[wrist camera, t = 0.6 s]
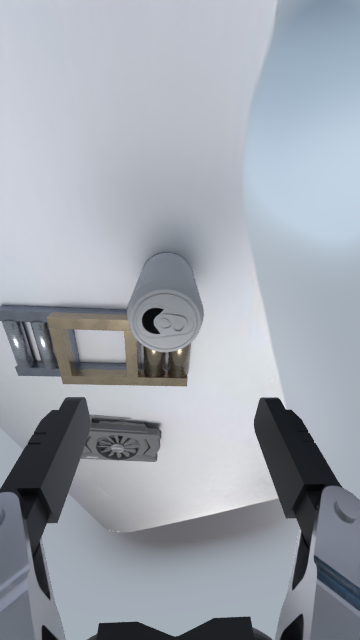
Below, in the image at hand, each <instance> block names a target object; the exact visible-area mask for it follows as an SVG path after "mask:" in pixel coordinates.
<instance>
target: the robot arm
mask: <svg viewBox="0 0 360 640" xmlns="http://www.w3.org/2000/svg"><path fill="white" fill-rule="evenodd" d="M90 426H91V420H90V415H89V411H88V407H87V402H86V399H85V398H84V397H67V398H65V400H64V401H63V403H62V405H61V407H60V409H59V410H52V411H51V412H50V413H49V414H48V415H46V416H45V417H44V418H43V419H42V420H41V422H40V423H39V425H38V427H37V428H36V430H35V432H34V435H32V437H31V438H30V440H29V442H28V445H26V447H25V448H24V450H23V452H22V454H21V456H20V457H19V459H18V460H17V462H16V464H15V465H14V467H13V469H12V470H11V472H10V474H9V475H8V477H7V479H6V480H5V482H4V484H3V485H2V487H1V489H0V640H66V639H65V634H64V630H63V626H62V622H61V618H60V615H59V612H58V610H57V607H56V604H55V600H54V596H53V591H52V586H51V582H50V577H49V572H48V567H47V562H46V557H45V553H44V548H43V543H42V538H41V537H42V534H43V532H44V529H45V526H46V524H47V523H57V522H58V520H59V517H60V514H61V511H62V508H63V506H64V502H65V500H66V497H67V494H68V492H69V489H70V486H71V483H72V480H73V477H74V475H75V472H76V469H77V466H78V463H79V461H80V458H81V455H82V452H83V449H84V447H85V444H86V441H87V438H88V435H89V432H90ZM254 429H255V433H256V436H257V439H258V442H259V444H260V447H261V450H262V453H263V455H264V458H265V461H266V464H267V467H268V469H269V472H270V475H271V478H272V480H273V483H274V486H275V489H276V492H277V494H278V497H279V500H280V503H281V505H282V508H283V511H284V514H285V516H286V518H297V521H298V524H299V526H300V529H299V532H298V538H297V543H296V549H295V554H294V559H293V565H292V570H291V576H290V581H289V586H288V591H287V594H286V598H285V600H284V603H283V606H282V609H281V613H280V617H279V622H278V626H277V632H276V637H275V640H360V500H359V499H358V498H357V497H356V496H354V495H353V494H352V493H351V492H349V491H348V490H346V489H344V488H342V486H341V485H340V483H339V482H338V481H337V479H336V477H335V475H334V474H333V472H332V470H331V469H330V467H329V465H328V464H327V462H326V460H325V458H324V457H323V455H322V453H321V452H320V450H319V448H318V447H317V445H316V443H314V440H313V438H312V437H311V435H310V433H308V430H307V428H306V427H305V425H304V423H303V421H302V420H301V419H300V418H299V417H298V416H297V415H296V414H295V413H294V412H293V411H292V410H286V409H285V408H284V406H283V404H282V402H281V400H280V399H279V398H260V400H259V404H258V408H257V411H256V415H255V419H254ZM88 640H272V639H271V638H270V637H268V636H267V635H266V634H264V633H262V632H261V631H259V630H257V629H255V628H253V627H252V623H251V618H250V617H231V618H213V619H211V620H210V621H208V622H206V623H204V624H202V625H200V626H198V627H196V628H194V629H192V630H190V631H188V632H186V633H184V634H182V635H180V636H176V637H174V636H171V635H168V634H166V633H163V632H161V631H159V630H156V629H154V628H151V627H149V626H146V625H144V624H142V623H139V622H121V623H120V622H118V623H99V627H98V633H97V634H96V635H94V636H92V637H91V638H89V639H88Z"/></svg>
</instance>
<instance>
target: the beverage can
mask: <svg viewBox="0 0 360 640" xmlns="http://www.w3.org/2000/svg"><path fill="white" fill-rule="evenodd" d="M203 316H204V311H203V306H202V302H201V299H200V296H199V292H198V289H197V285H196V282H195V279H194V275H193V272H192V269H191V267H190V265H189V264H188V263H187V261H186V260H185V259H183V258H182V257H180V256H179V255H176V254H173V253H161V254H157V255H155V256H153V257H152V258H150V259H149V260H148V261H147V263H146V264H145V265H144V267H143V269H142V272H141V274H140V277H139V279H138V282H137V284H136V287H135V289H134V291H133V294H132V296H131V299H130V301H129V304H128V309H127V317H128V322H129V324H130V328H131V331H132V333H133V335H134V337H135V338H136V339H137V340H138V341H139V342H140V343H141V344H142V345H143V346H145V347H147V348H149V349H151V350H154V351H158V352H173V351H177V350H180V349H182V348H184V347H186V346H187V345H189V344H190V343H191V342H192V341H193V340H194V339H195V338H196V336H197V334H198V333H199V330H200V327H201V325H202V322H203Z"/></svg>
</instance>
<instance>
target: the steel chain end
mask: <svg viewBox="0 0 360 640" xmlns="http://www.w3.org/2000/svg"><path fill="white" fill-rule="evenodd" d="M52 312H60V313H88V314H116V315H127V310H120V309H93V308H66V307H39V306H12V305H2V306H0V321H2V323H3V326H4V329H5V332H6V334H7V337H8V340H9V343H10V346H11V348H12V351H13V354H14V357H15V360H16V362H17V366H16V367H15V368H16V371H17V373H18V376H61V374H60V370H59V366H58V362H57V358H56V354H55V350H54V346H53V342H52V338H51V334H50V330H49V326H48V322H47V317H48V316H49V315H50V314H51V313H52ZM22 322H30V323H31V326H32V330H33V333H34V337H35V340H36V343H37V347H38V350H39V354H40V357H41V361H34V359H33V356H32V353H31V350H30V346H29V343H28V340H27V337H26V334H25V330H24V327H23V324H22ZM68 331H69V336H70V341H71V346H72V351H73V356H74V361H75V366H76V369H101V370H127V365H126V363H86V362H80V360H79V355H78V350H77V345H76V339H75V334H74V329H68ZM138 345H139V370H141V359H140V342H139V341H138Z"/></svg>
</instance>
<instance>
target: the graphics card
mask: <svg viewBox="0 0 360 640" xmlns="http://www.w3.org/2000/svg"><path fill="white" fill-rule="evenodd" d="M124 419H130V418H126V417H113V416H99V415H90V420H91V426H90V432H89V435H88V438H87V441H86V444H85V447H84V449H83V452H82V455H81V459H104V460H126V461H148V462H155V461H157V452H158V450H159V449H160V440H159V438H161V431H160V430H159V429H153V428H148V427H147V426H145V424H138V423H124V422H113V421H119V420H124ZM120 452H122V453H120Z"/></svg>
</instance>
